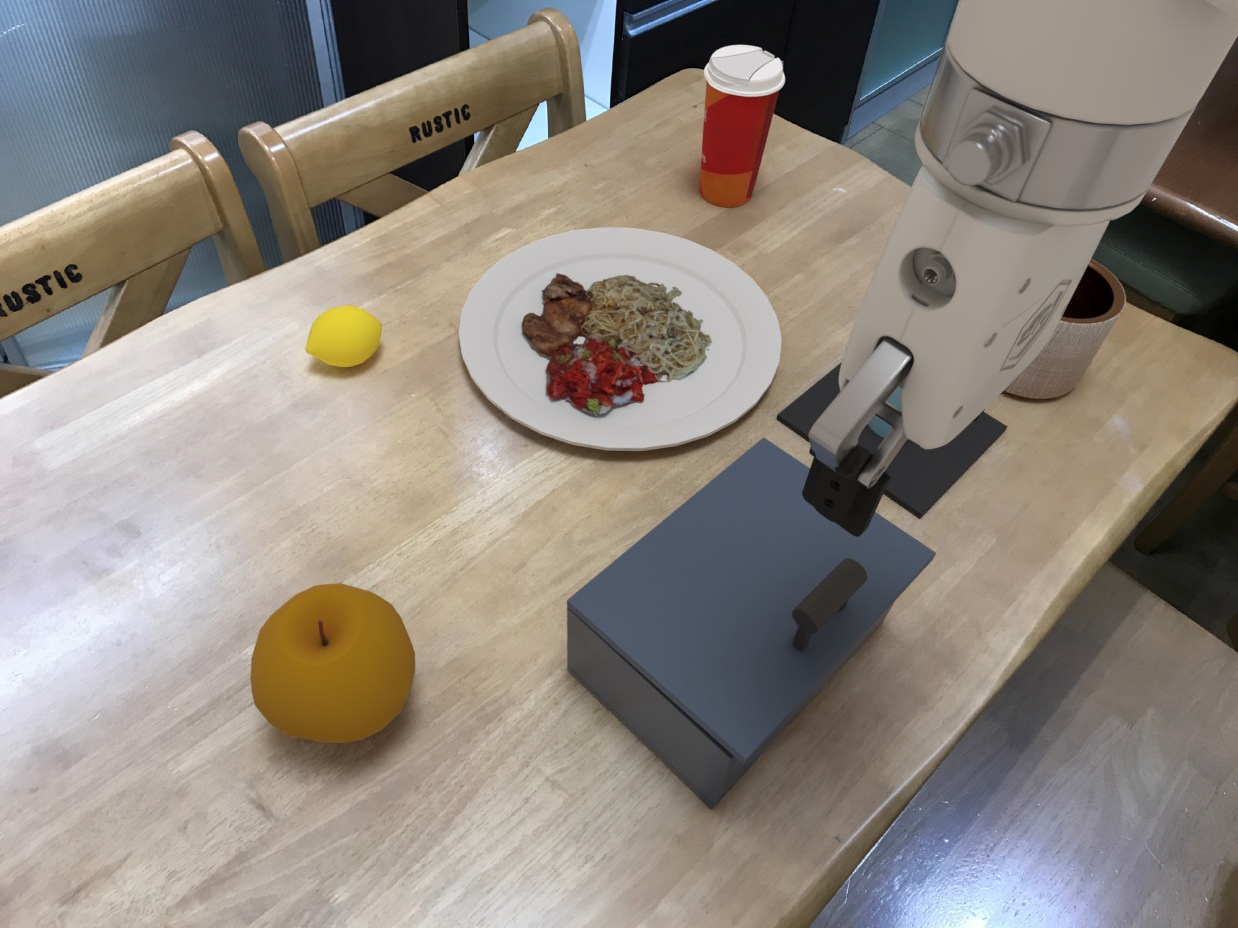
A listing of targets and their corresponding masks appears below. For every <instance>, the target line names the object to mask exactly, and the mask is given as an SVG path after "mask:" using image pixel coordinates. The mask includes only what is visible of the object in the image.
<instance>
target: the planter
mask: <svg viewBox="0 0 1238 928" xmlns="http://www.w3.org/2000/svg"><path fill="white" fill-rule="evenodd" d="M1126 303H1127V295H1126V292H1125V289H1124V287H1123V284H1122V283H1121V282H1120V281H1119V279H1118V278H1117V276H1116V275H1115V274H1114V273H1112V271H1110V269H1108V268H1107V267H1105V266H1104V265H1103V264H1101V263H1100V262H1098V261H1096V260H1095V259H1094V258H1091V260H1090V262H1089V264H1088V266H1087V268H1086V270H1085V272H1084V274H1083V276H1082V278H1081V279H1080V281H1079V283H1078V285H1077V287H1076V289H1075V291H1074V293H1073V295H1072V297H1071V299H1070V301H1069V303H1068V305H1067V307H1066V309H1065V311H1064V313H1063V315H1062V317H1061V319H1060V321H1059V323H1058V325H1057V327H1056V329H1055V330H1054V332H1053V334H1052V336H1051V338H1050V339H1049V341H1048V342H1047V344H1046V345H1045V346H1044V348H1043V349H1042V350H1041V352H1040V353H1039V354H1038V355H1037V357H1036V358H1035V359H1034V360H1033V361H1032V362H1031V363H1030V364H1029V365H1028V366H1027V367H1026V368H1025V369H1024V370H1023V371H1022V372H1021V373H1020V374H1019V375H1018V376H1017V377H1016V378H1015V379H1014V380H1013V382H1012V383H1011V384H1010V385H1009V386H1008V387H1007V388H1006V389H1005V390H1004V391H1003V392H1005V393H1008V394H1010V395H1013V396H1016V397H1021V398H1025V399H1032V400H1033V399H1034V400H1047V399H1048V400H1049V399H1055V398H1058V397H1061V396H1064V395H1066V394H1068V393H1069V392H1071V391H1072V390H1073V389H1074V388H1075V387H1076V386H1078V384H1079V383H1080V381H1081V380H1082V379H1083V377H1084V375H1085V374H1086V371H1087V370H1088V369H1089V367H1090V365H1091V364H1092V362H1093V360H1094V359H1095V357H1096V355H1097V354H1098V352H1099V351H1100V349H1101V347H1102V346H1103V344H1104V342H1105V340H1106V339H1107V337H1108V335H1109V334H1110V333H1111V331H1112V329H1113V328H1114V326H1115V324H1116V323H1117V321H1118V319H1119V318H1120V317H1121V315H1122V313H1123V311H1124V310H1125V307H1126Z"/></svg>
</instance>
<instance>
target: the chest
mask: <svg viewBox="0 0 1238 928" xmlns="http://www.w3.org/2000/svg"><path fill="white" fill-rule="evenodd" d="M894 604H895V602H894V603H893V604H892V605H891V606H890V607H889V608H888V609H887V610H886V611H885V612H884V613H883V615H882V616H881V617H880V618H879V619H878V620H877V621H876V622H875V623H874V624H873V625H872V627H871V628H870V629H869V630H868V631H867V632H866V633H865V634H864V635H863V636H862V637H861V639H860V640H859V641H858V642H857V643H856V644H855V645H854V646H853V647H852V648H851V649H850V651H849V652H848V653H847V654H846V655H845V656H844V657H843V658H842V659H841V660H840V661H839V662H838V664H837V665H836V666H835V667H834V668H833V669H832V670H831V671H830V672H829V673H828V674H827V676H826V677H825V678H824V679H823V680H822V681H821V682H820V683H819V684H818V685H817V686H816V688H815V689H814V690H813V691H812V692H811V693H810V694H809V695H808V696H807V697H806V698H805V699H804V701H803V702H802V703H801V704H800V705H799V706H798V707H797V708H796V709H795V710H794V711H793V713H792V714H791V715H790V716H789V717H788V718H787V719H786V720H785V721H784V722H783V723H782V725H781V726H780V727H779V728H778V729H777V730H776V731H775V732H774V733H773V734H772V735H771V737H770V738H769V739H768V740H767V741H766V742H765V743H764V744H763V745H762V746H761V747H760V748H759V750H758V751H757V752H756V753H755V754H754V755H753V756H752V757H751V758H750V759H749V760H748V762H747V763H746V764H742V763H741V762H740V761H739V760H738V759H737V758H736V757H735V756H734V755H732V754H731V753H730V752H729V751H728V750H727V749H726V748H725V747H723V746H722V745H721V744H720V743H719V742H718V741H717V740H716V739H715V738H713V737H712V736H711V735H710V734H709V733H708V732H707V731H706V730H704V729H703V728H702V727H701V726H700V725H699V724H698V723H697V722H696V721H694V720H693V719H692V718H691V717H690V716H689V715H688V714H687V713H685V712H684V711H683V710H682V709H681V708H680V707H679V706H678V705H677V704H675V703H674V702H673V701H672V700H671V699H670V698H669V697H668V696H666V695H665V694H664V693H663V692H662V691H661V690H660V689H659V688H657V687H656V686H655V685H654V684H653V683H652V682H651V681H650V680H649V679H647V678H646V677H645V676H644V675H643V674H642V673H641V672H640V671H638V670H637V669H636V668H635V667H634V666H633V665H632V664H631V663H630V662H628V661H627V660H626V659H625V658H624V657H623V656H622V655H621V654H619V653H618V652H617V651H616V650H615V649H614V648H613V647H612V646H611V645H609V644H608V643H607V642H606V641H605V640H604V639H603V638H602V637H600V636H599V635H598V634H597V633H596V632H595V631H594V630H593V629H592V628H590V627H589V626H588V625H587V624H586V623H585V622H584V621H583V620H581V619H580V618H579V617H578V616H577V615H576V614H575V613H574V612H573V611H571V610H570V609H569V608H568V607H567V606H566V661H567V662H566V666H567V667H566V670H567V672H569V673H570V674H571V675H572V676H573V677H574V678H575V679H576V680H577V681H578V682H579V683H580V684H581V685H583V687H584V688H586V690H587V691H588V692H589V693H590V694H592V695H593V696H594V697H595V698H596V699H597V700H598V701H599V702H600V703H601V704H602V705H603V706H604V707H605V708H606V709H607V710H608V711H609V712H610V713H611V714H612V715H613V716H614V717H616V719H617V720H618V721H620V723H621V724H622V725H624V726H625V727H626V728H627V729H628V730H629V731H630V732H631V733H632V734H633V735H634V736H635V737H636V738H637V739H638V740H639V741H640V742H641V743H642V744H643V745H644V746H645V747H646V748H647V749H648V750H649V751H650V752H651V753H653V755H654V756H655V757H657V758H658V759H659V760H660V761H661V763H663V764H664V765H665V766H666V767H667V768H668V769H669V770H670V771H671V772H672V773H673V774H674V775H675V776H676V777H677V778H678V779H679V780H680V781H681V782H682V783H683V784H684V785H685V786H687V788H689V790H691V791H692V792H693V793H694V794H695V796H697V797H698V798H699V799H700V800H701V802H703V803H704V804H705V805H706V806H707V807H708V808H709V809H710V810H713V809H714V808H715V807H716V806H717V805H719V803H720V802H721V801H722V800H723V798H724V797H725V796H726V795H728V793H729V792H730V791H731V790H732V789H733V787H735V786H736V784H738V782H739V781H740V780H741V779H742V778H743V776H745V775H746V774H747V773H748V772H749V770H750V769H751V768H752V767H753V765H754V764H755V763H757V761H758V760H759V759H760V758H761V757H762V756H763V755H764V753H766V751H767V750H768V749H769V748H770V747H771V746H772V745H773V744H774V743H775V742H776V740H777V739H779V737H780V736H781V735H782V734H783V733H784V732H785V731H786V729H788V727H789V726H790V725H791V724H792V723H793V722H794V721H795V720H796V719H797V717H799V716H800V714H801V713H802V712H803V711H804V710H805V709H806V707H808V705H809V704H810V703H811V702H812V701H813V700H814V699H815V698H816V697H817V695H818V694H819V693H820V692H821V691H822V690H823V689H824V688H825V687H826V685H828V683H830V681H831V680H832V679H833V678H834V677H835V676H836V675H837V674H838V672H839V671H840V670H841V669H842V668H843V667H844V666H845V665H846V664H847V663H848V662H849V661H850V659H851V658H853V656H854V655H855V654H856V652H857V651H859V650H860V649H861V648H862V646H863V645H865V643H866V642H867V641H868V640H869V638H870V637H871V636H872V635H873V634H874V633H875V632H876V631H877V630H878V629H879V628H880V627H881V626H882V624H883V623H884V622H885V620H886V618H887V616H888V615H889V613H890V611H891V610H892V608H893V606H894Z"/></svg>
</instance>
